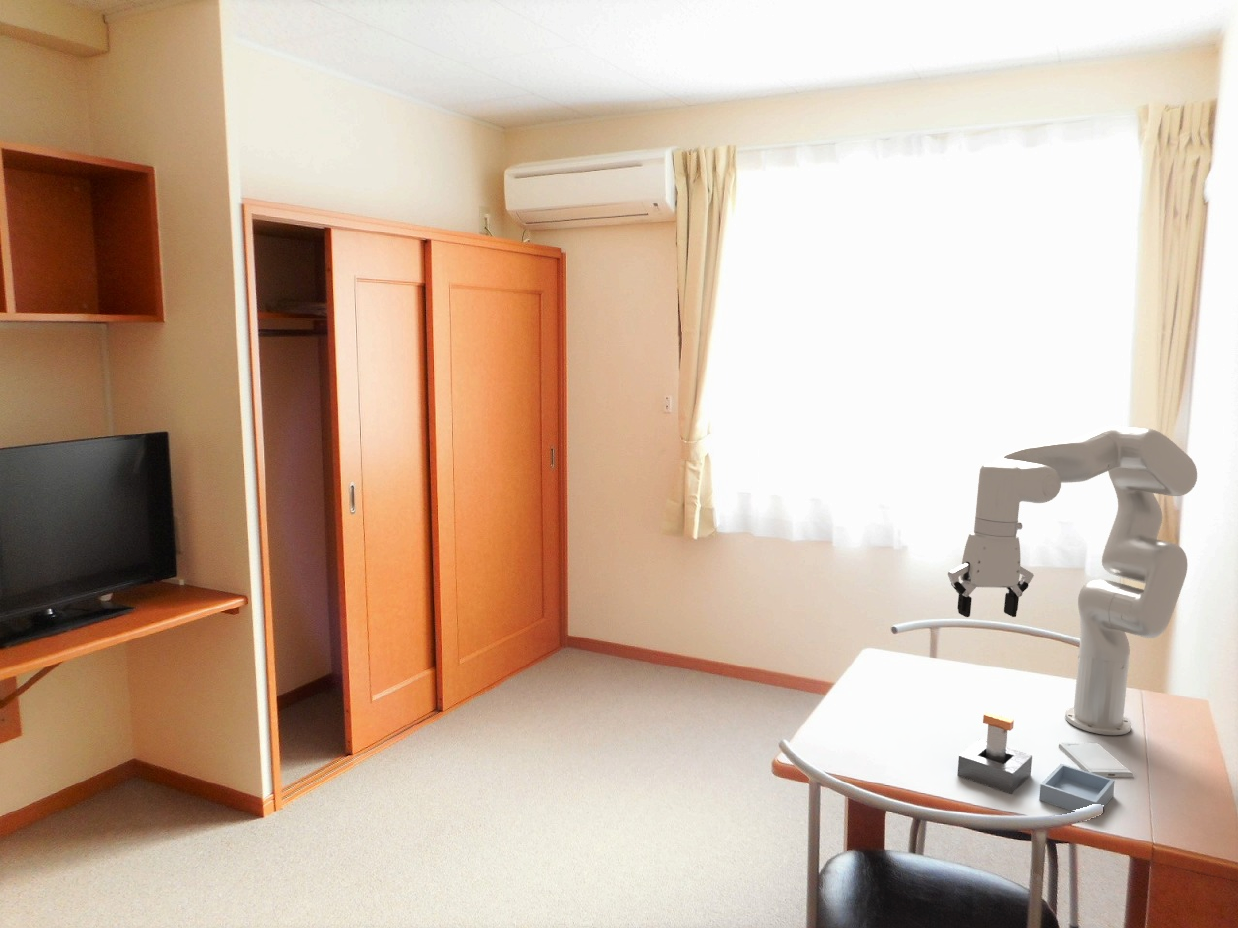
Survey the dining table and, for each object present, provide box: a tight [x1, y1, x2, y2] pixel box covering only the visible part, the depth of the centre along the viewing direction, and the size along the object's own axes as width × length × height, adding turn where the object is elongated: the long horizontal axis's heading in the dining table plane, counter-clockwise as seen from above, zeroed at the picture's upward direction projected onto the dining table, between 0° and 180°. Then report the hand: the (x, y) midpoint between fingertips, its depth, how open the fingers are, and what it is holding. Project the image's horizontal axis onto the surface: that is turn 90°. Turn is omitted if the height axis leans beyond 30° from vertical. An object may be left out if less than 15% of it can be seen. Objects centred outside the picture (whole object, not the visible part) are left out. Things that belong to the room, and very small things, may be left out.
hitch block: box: [957, 738, 1033, 795], centre depth 172 cm, size 10×10×4 cm
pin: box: [982, 712, 1014, 764], centre depth 171 cm, size 3×5×12 cm
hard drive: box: [1058, 742, 1134, 778], centre depth 178 cm, size 2×8×12 cm
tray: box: [1038, 763, 1115, 812], centre depth 164 cm, size 11×9×3 cm
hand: (986, 614), depth 175 cm, fingers open, 9 cm apart
